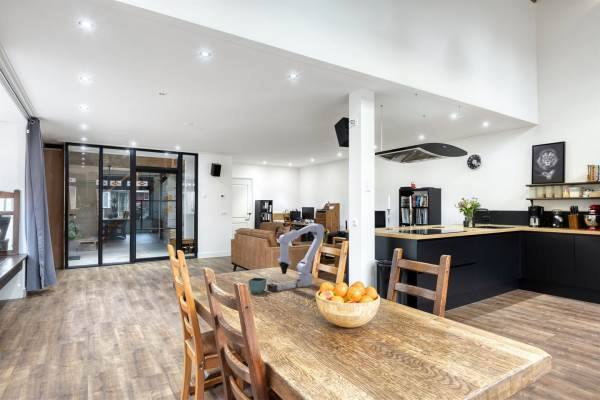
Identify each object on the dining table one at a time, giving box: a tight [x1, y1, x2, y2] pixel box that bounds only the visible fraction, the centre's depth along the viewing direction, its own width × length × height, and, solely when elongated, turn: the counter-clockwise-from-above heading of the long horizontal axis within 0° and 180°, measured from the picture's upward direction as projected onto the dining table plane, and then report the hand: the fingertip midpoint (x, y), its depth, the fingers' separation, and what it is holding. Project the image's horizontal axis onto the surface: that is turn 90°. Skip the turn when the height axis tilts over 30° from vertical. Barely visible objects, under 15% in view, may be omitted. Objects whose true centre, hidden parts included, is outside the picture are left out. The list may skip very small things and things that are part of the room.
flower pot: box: [248, 277, 267, 294], centre depth 208 cm, size 9×9×9 cm
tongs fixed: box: [266, 278, 304, 292], centre depth 217 cm, size 24×5×5 cm, turn 124°
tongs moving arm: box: [269, 281, 296, 293], centre depth 214 cm, size 18×2×4 cm, turn 127°
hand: (284, 273), depth 220 cm, fingers closed
